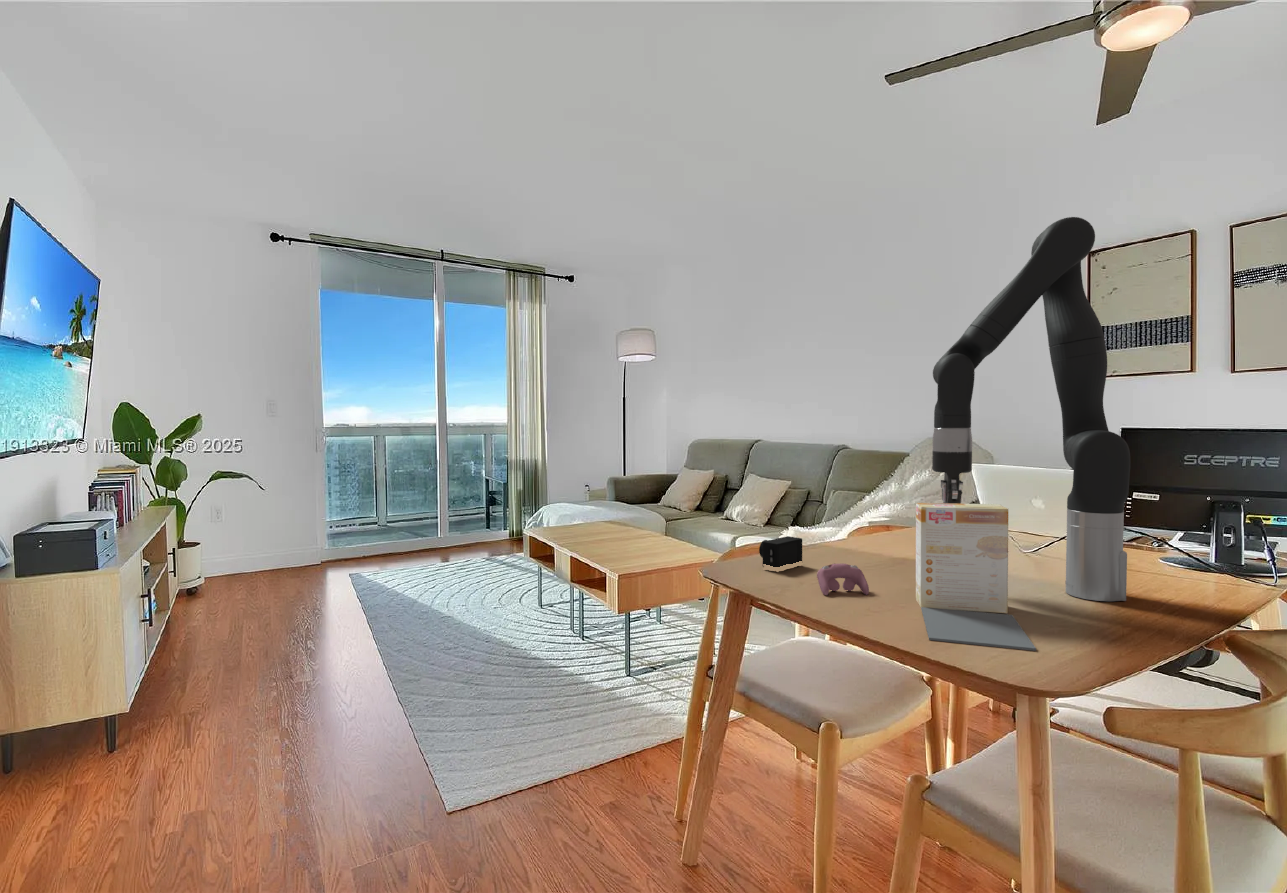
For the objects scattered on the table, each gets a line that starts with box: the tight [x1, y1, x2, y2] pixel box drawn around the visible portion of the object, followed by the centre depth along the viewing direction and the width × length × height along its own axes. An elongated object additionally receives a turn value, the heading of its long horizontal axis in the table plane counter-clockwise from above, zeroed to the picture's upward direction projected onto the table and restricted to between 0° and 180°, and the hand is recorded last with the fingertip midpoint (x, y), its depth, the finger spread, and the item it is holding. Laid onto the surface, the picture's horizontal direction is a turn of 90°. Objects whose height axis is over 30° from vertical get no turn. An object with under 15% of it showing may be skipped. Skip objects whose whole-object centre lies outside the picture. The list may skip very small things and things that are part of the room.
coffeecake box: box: [915, 502, 1009, 615], centre depth 119 cm, size 15×7×20 cm, turn 74°
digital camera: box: [758, 535, 803, 567], centre depth 152 cm, size 10×5×7 cm, turn 131°
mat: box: [920, 607, 1037, 652], centre depth 107 cm, size 15×18×1 cm
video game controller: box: [816, 563, 870, 596], centre depth 130 cm, size 10×5×7 cm, turn 92°
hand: (951, 530), depth 132 cm, fingers closed
